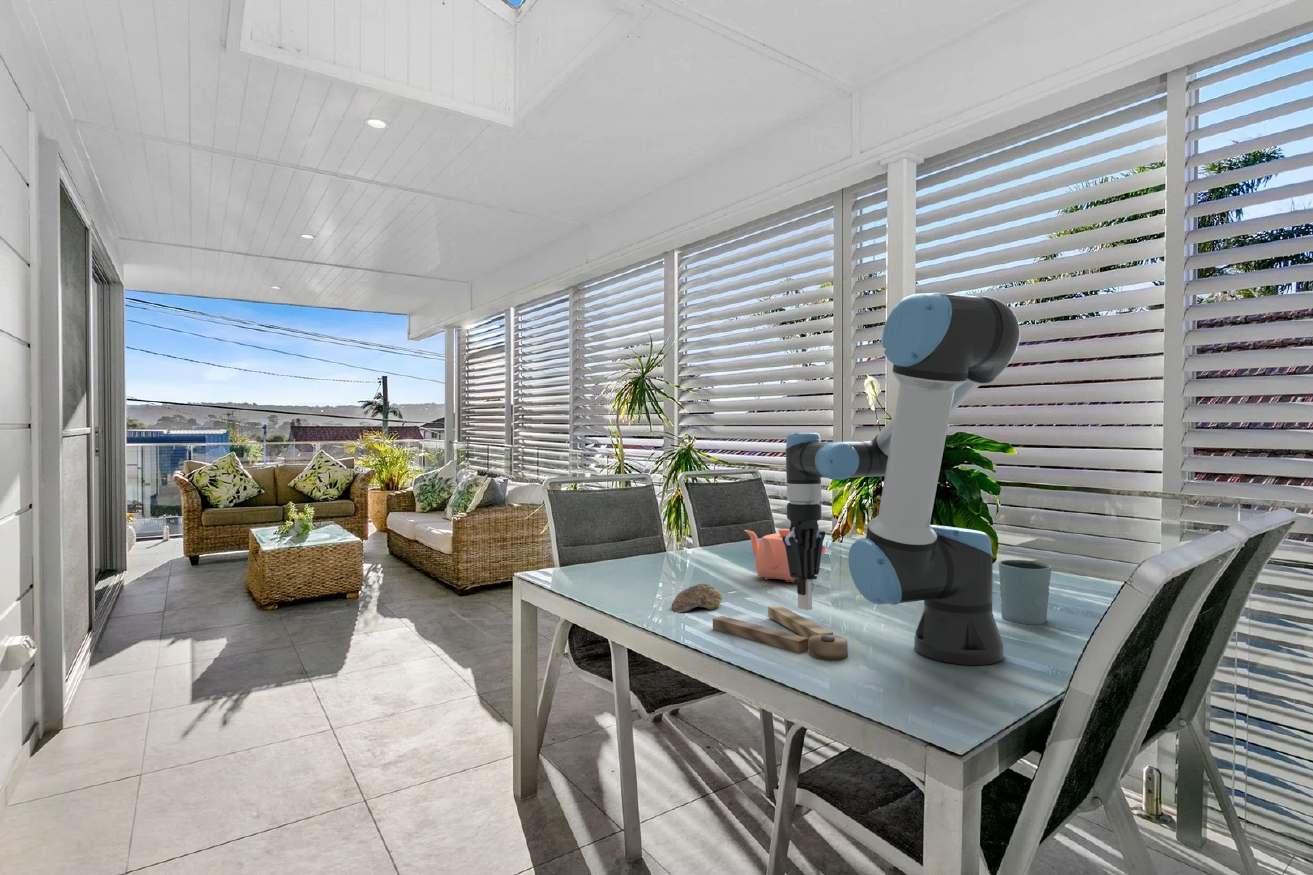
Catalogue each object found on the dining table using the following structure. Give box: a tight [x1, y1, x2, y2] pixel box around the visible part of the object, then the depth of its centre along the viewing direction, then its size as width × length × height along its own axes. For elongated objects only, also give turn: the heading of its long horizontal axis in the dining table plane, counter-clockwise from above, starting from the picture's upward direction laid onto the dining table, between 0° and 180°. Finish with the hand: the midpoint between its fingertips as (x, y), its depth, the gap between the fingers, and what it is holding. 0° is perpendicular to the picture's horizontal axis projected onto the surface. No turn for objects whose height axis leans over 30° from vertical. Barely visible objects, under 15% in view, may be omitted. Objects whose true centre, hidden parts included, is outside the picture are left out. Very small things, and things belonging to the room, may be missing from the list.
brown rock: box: [671, 583, 723, 613], centre depth 163 cm, size 10×12×5 cm
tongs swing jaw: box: [767, 604, 834, 641], centre depth 142 cm, size 22×3×2 cm, turn 17°
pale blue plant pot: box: [998, 559, 1052, 625], centre depth 149 cm, size 10×10×12 cm
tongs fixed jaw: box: [712, 615, 849, 661], centre depth 136 cm, size 30×7×3 cm, turn 42°
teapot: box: [744, 528, 827, 583], centre depth 192 cm, size 18×18×14 cm
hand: (805, 608), depth 152 cm, fingers closed
